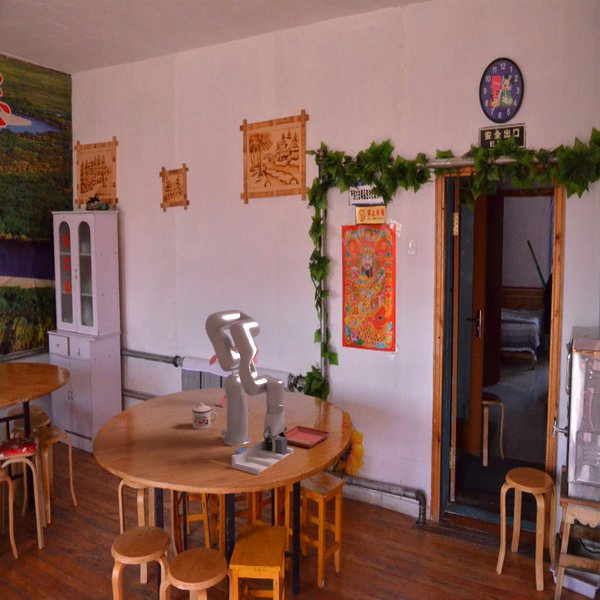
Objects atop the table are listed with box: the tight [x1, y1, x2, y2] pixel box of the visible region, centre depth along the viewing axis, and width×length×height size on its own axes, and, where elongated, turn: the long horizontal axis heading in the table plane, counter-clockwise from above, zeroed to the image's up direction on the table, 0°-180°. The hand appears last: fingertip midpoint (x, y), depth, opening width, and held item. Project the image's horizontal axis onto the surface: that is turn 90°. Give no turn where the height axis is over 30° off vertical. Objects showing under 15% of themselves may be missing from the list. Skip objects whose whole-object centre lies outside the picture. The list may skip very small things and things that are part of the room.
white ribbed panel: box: [231, 438, 294, 475], centre depth 248 cm, size 13×26×6 cm, turn 148°
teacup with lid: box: [191, 402, 218, 430], centre depth 289 cm, size 12×9×12 cm
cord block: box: [264, 435, 288, 455], centre depth 254 cm, size 9×4×7 cm, turn 58°
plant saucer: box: [285, 425, 331, 449], centre depth 271 cm, size 18×18×3 cm
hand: (275, 446), depth 254 cm, fingers open, 9 cm apart
